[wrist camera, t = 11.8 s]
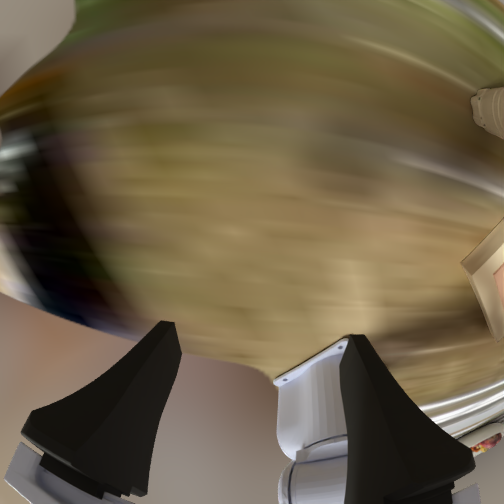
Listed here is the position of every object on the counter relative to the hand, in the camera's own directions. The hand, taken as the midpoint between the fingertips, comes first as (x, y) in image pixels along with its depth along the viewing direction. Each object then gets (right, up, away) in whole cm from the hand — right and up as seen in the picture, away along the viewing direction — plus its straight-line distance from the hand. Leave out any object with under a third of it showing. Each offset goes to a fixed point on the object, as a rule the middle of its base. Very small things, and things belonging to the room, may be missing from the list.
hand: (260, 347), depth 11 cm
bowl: (+60, -52, +34) cm, 86 cm away
